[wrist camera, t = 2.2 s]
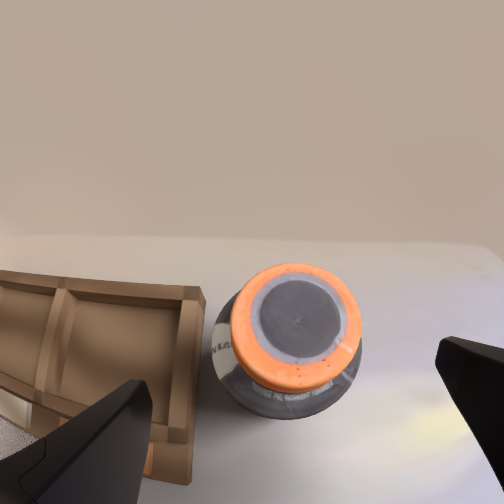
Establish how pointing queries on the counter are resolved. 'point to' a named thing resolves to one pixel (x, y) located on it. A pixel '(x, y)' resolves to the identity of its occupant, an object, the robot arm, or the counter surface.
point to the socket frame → (102, 356)
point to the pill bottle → (288, 342)
